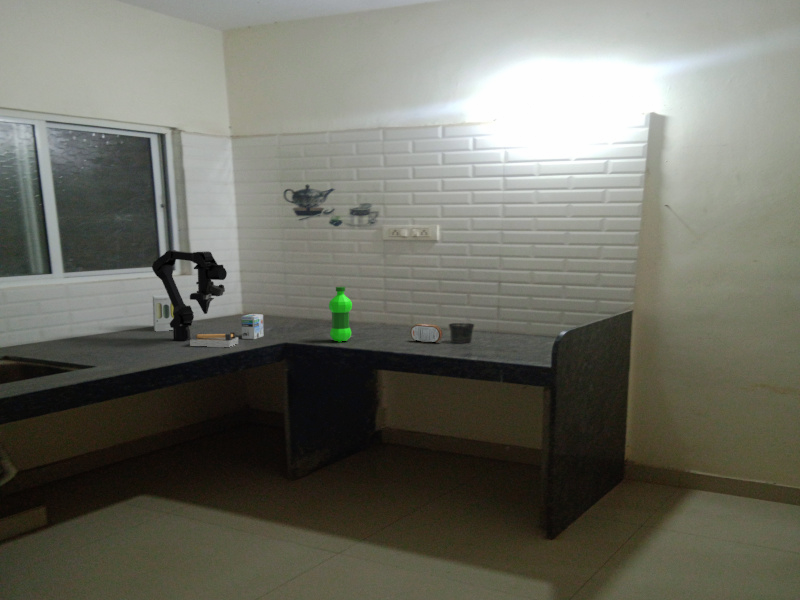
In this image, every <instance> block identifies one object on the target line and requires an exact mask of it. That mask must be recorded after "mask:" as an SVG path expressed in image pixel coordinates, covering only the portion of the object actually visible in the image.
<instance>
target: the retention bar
mask: <svg viewBox="0 0 800 600" xmlns="http://www.w3.org/2000/svg"><path fill="white" fill-rule="evenodd" d="M225 334H226V333H206V334H205V333H204V334H203V333H202V334H198V335H197V338H225ZM231 337H233V334H231Z"/></svg>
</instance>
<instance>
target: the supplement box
mask: <svg viewBox="0 0 800 600" xmlns="http://www.w3.org/2000/svg"><path fill="white" fill-rule="evenodd" d="M173 309H174V307H173V305H172V303H171V300H170V298H169V296H168V294H154V295H153V294H152V311H153V312H152V317H153V331H154V332H155V331H156V332H170V331H169V330H173V328H171V327H170V322H171V321H172V320H173V318H174V316H173Z"/></svg>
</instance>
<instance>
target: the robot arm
mask: <svg viewBox="0 0 800 600" xmlns="http://www.w3.org/2000/svg"><path fill="white" fill-rule="evenodd" d="M177 260H179V261H181V260H182V261H190V262H192V263H194V264H196V265H195V266H194V267H193V269H194V270H197V281H196V283H195V284H196V285H197V288H198V289H197V291H196V292H191V293H190V294H189V300H190V301H191V300H195V301H196V302H197V303H198V305H199V307H200V309H201V310H202V313H203V314H204V315H206V314H208V312H209V307H210V304H211V302H212V301H213V300H214V299H215V297H220V296H221V297H222V296H223V295H224V293H225V291H226V290H225V289H226V288H225V285H224V284H219V285H215V284H214V281H212V280H215V281H224V280H225V279H226V278H227V275H228V273H227V270H226V268H225V267H224V264H218V263H217V261H216V259H215V258H214V256H213V254H212V252H211V251H193V252H192V251H181V250H175V249H172V250H166V251H165V253H163V255H162V254H161V256H159V257H157V259H156V260H155V261H153V263H152V265H151V268H152V272H154V274H155V276H156V277H158V279H160V280H161V282H162V283H163V286H164V288H165V290H166V293H167V295H168V296H169V298H170V300H171V303H172V305H173V307H174V309H173V316H174V318H173V320H172V321H171V322H170V327H171V328H173V331H172V332H173V334H172V335H173V338H172V339H171V341H178V342H181V341H182V342H186V341H188V340H189V341H190V340H191V339H192V337H191V330H190V327H191V326H192V324H193V321H194V319H195V316H194V314H195V313H194V312H193V311H194V310H193V309H192V307H191V305H186V303H185V302H184V300H183V298H182V296H181V294H180V291H179V288H178V286H177V283H176V281H175V279H174V277H173V274H174V269H173V267H174V265H175V264H176V261H177Z"/></svg>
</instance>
